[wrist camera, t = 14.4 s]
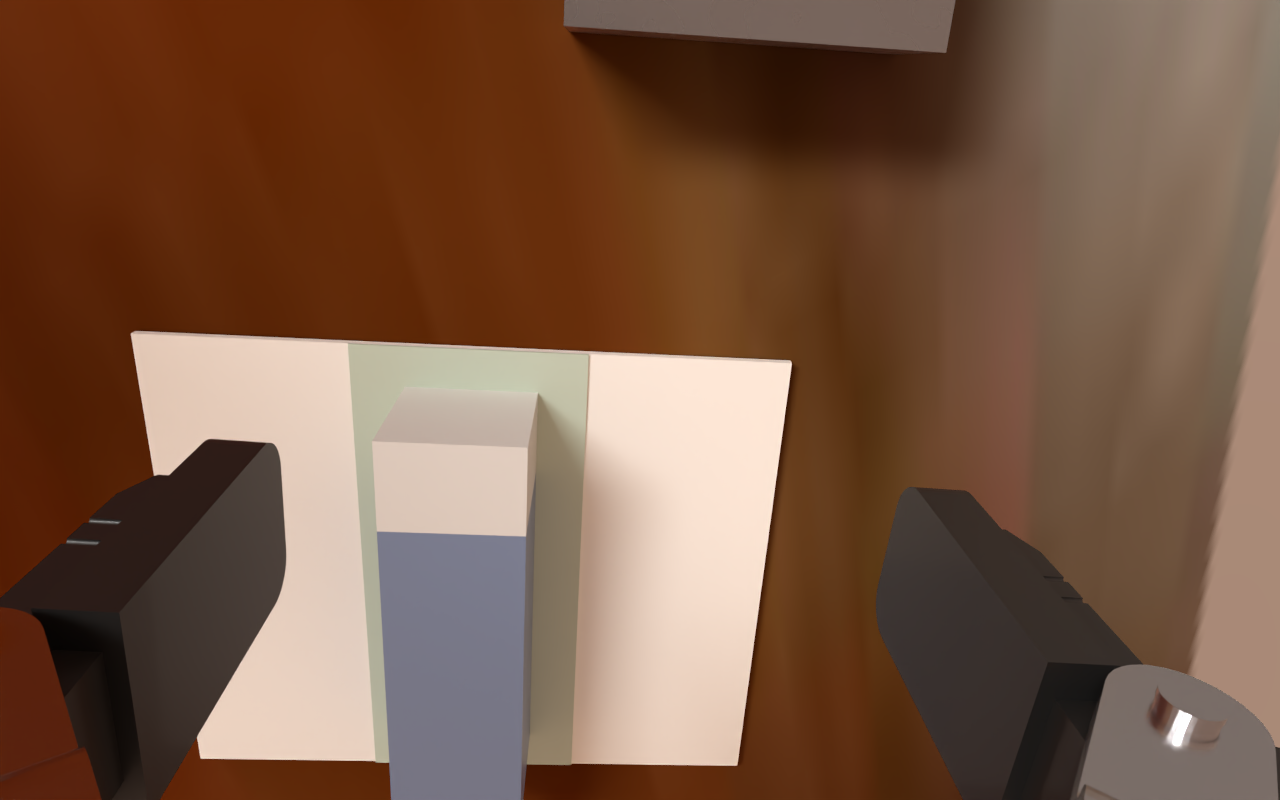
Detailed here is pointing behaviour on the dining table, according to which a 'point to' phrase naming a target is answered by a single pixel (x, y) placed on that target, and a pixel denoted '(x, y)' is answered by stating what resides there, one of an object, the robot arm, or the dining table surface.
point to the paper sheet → (563, 545)
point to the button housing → (775, 22)
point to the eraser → (457, 589)
